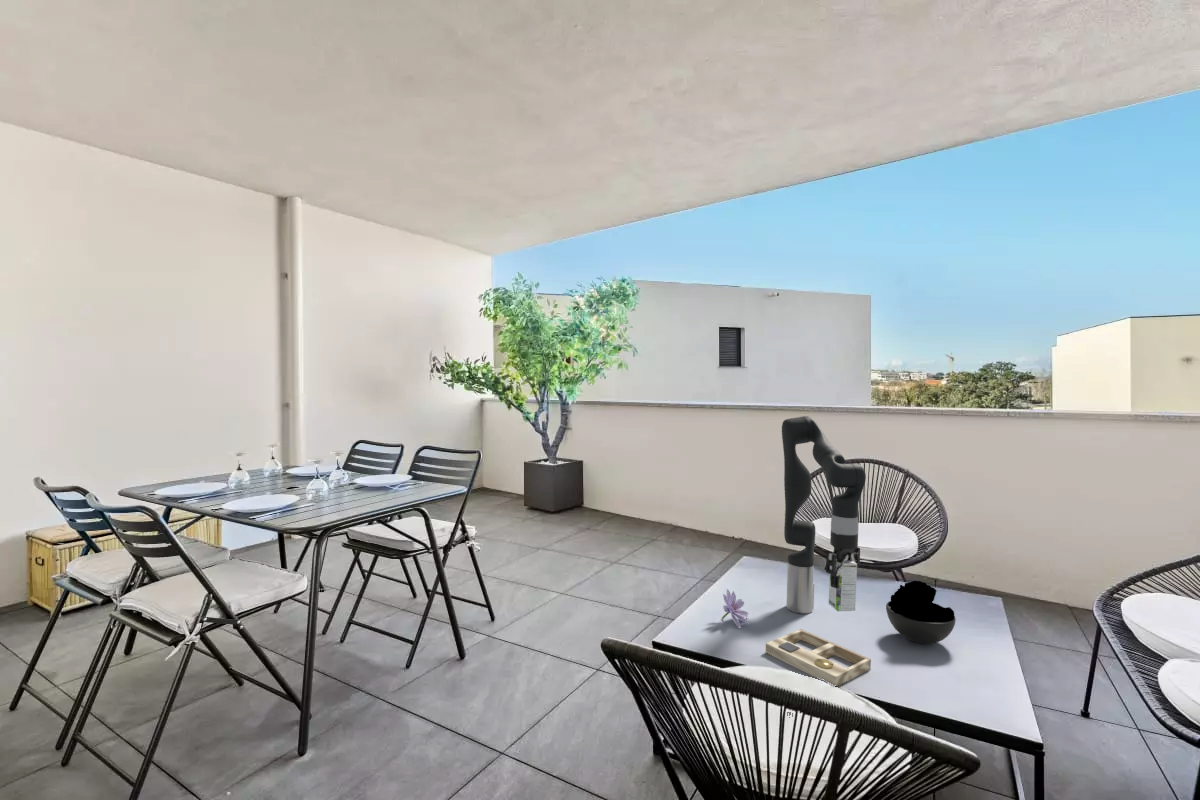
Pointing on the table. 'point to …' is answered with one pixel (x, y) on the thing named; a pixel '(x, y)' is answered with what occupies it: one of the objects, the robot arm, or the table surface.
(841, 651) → the socket block
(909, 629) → the bowl of black rocks
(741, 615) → the water lily
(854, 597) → the syrup box
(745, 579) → the table surface
